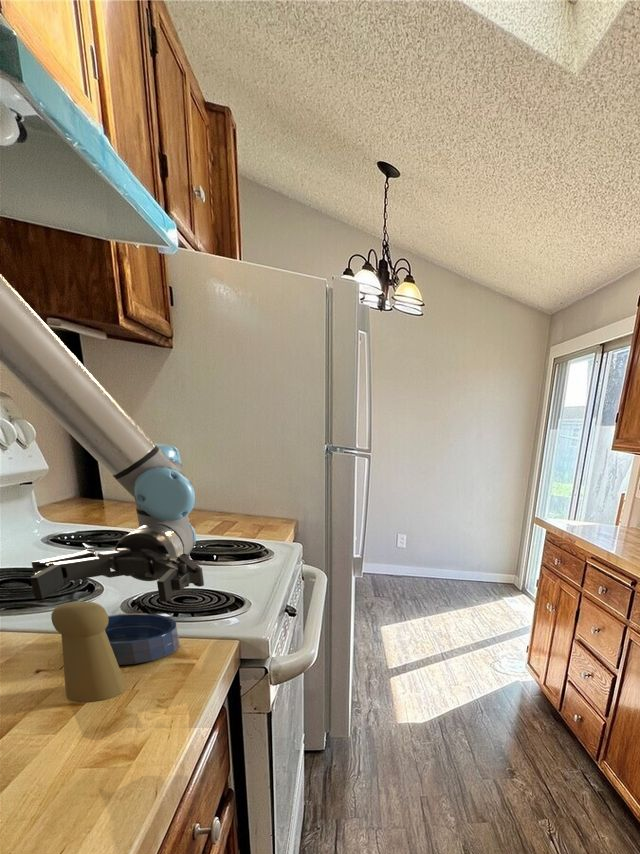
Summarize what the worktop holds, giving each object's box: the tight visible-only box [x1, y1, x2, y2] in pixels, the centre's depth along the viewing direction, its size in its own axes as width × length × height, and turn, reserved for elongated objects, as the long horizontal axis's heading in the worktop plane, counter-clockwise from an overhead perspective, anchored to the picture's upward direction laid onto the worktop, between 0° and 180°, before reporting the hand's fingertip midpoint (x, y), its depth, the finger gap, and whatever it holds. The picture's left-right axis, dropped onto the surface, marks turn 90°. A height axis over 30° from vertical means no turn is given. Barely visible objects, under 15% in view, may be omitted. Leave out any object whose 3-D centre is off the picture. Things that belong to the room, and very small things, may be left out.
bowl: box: [105, 612, 180, 666], centre depth 78 cm, size 12×12×4 cm
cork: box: [50, 600, 128, 703], centre depth 65 cm, size 6×6×11 cm
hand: (100, 590), depth 70 cm, fingers open, 13 cm apart
